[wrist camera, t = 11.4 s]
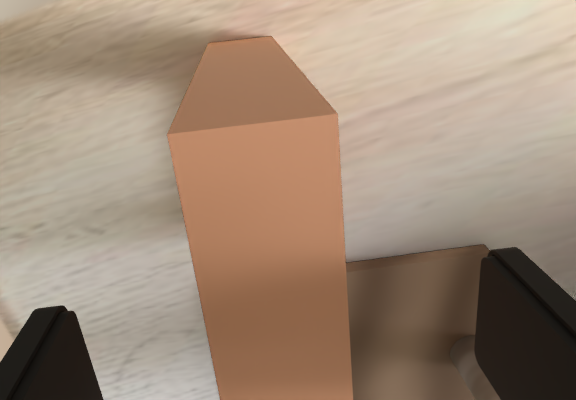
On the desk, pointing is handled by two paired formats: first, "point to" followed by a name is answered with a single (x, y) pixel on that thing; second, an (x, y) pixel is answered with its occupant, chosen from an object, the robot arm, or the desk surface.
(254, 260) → the link
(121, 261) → the desk surface
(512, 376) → the robot arm
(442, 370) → the stand
